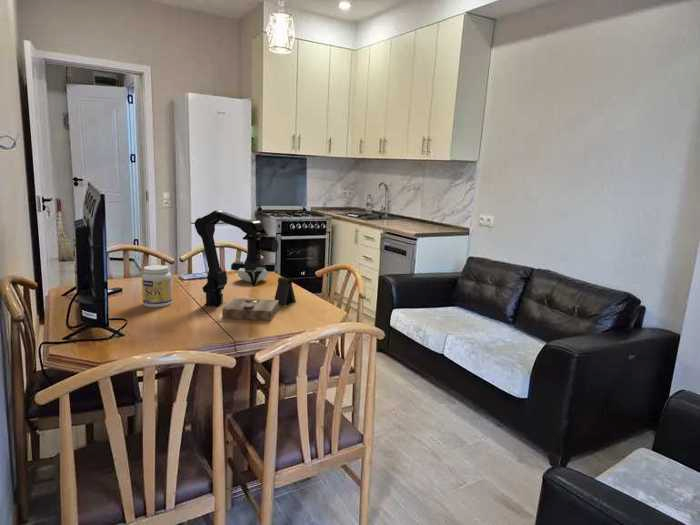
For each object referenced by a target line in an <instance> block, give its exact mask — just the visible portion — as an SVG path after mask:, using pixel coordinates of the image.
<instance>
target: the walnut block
mask: <svg viewBox="0 0 700 525" xmlns="http://www.w3.org/2000/svg"><path fill="white" fill-rule="evenodd" d="M245 300H252V301H253V300H257V301H258V303H255V302H252V309H245ZM279 308H280V305H279V300H274V299H262V298H236V297H234V298H233V299H231V301H229V302H228V303H227V304H226V305H225V306H224V307H223V308H222V312H221V314H222V319H226V318H227V320H228V319H229V320H247V319H252V320H253V321H268V320H271V319H272V320H273V318H275V315H276V314H277V313H278V311H279ZM272 320H271V321H272Z"/></svg>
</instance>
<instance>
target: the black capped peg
mask: <svg viewBox="0 0 700 525" xmlns="http://www.w3.org/2000/svg"><path fill="white" fill-rule="evenodd" d="M245 309H252V300H245Z"/></svg>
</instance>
